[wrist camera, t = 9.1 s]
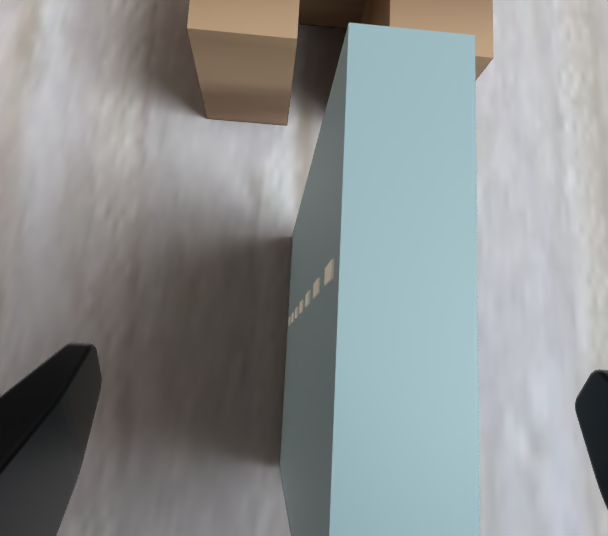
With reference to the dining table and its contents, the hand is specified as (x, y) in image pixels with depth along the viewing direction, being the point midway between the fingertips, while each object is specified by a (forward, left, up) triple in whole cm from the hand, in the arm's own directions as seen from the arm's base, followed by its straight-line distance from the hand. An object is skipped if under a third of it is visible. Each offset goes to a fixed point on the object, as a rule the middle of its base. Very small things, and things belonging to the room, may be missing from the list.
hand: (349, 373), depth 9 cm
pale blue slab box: (0, 0, -8) cm, 8 cm away
